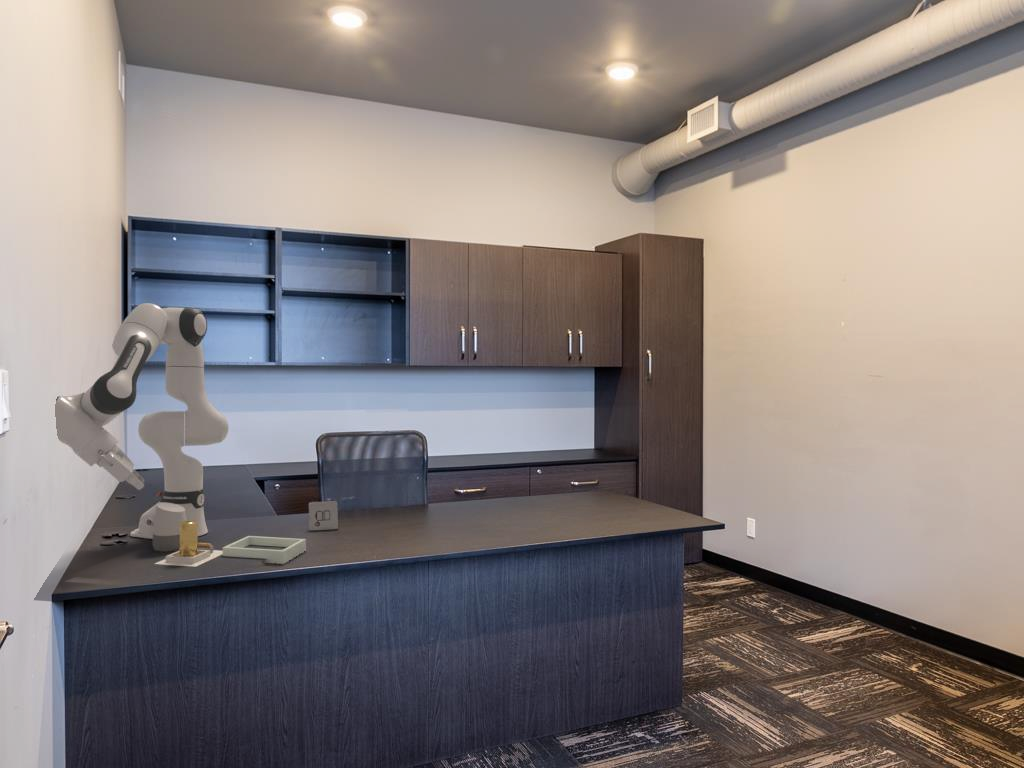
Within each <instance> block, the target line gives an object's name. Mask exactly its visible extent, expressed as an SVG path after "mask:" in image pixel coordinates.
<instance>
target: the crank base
mask: <svg viewBox="0 0 1024 768" xmlns="http://www.w3.org/2000/svg"><path fill="white" fill-rule="evenodd" d="M179 553H180V550H176V551H174V552H172V553H171V554H170V553H169V554H167V555H166V556H165V558H164V559H161V560H160V561H157V562H155V563H154V565H161V566H162V565H164V566H180V567H181V566H182V567H199V566H201V565H202V564H205V563H207V562H209V561H211V560H213V559H215V558H217V557H220V556H222V553H223V550H217V549H214V545H212V544H211V543H209V542H197V555H196V556H194V557H184V556H179Z"/></svg>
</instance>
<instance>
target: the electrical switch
mask: <svg viewBox="0 0 1024 768" xmlns="http://www.w3.org/2000/svg"><path fill="white" fill-rule="evenodd" d="M338 513H339V511H338V501H336V500H334V501H330V500H329V501H312V502H309V503H308V530H309V531H310V532H313V531H315V532H316V531H330V530H332V531H333V530H337V529H338V527H339V518H338V517H339V515H338ZM317 524H318V525H317Z"/></svg>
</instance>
